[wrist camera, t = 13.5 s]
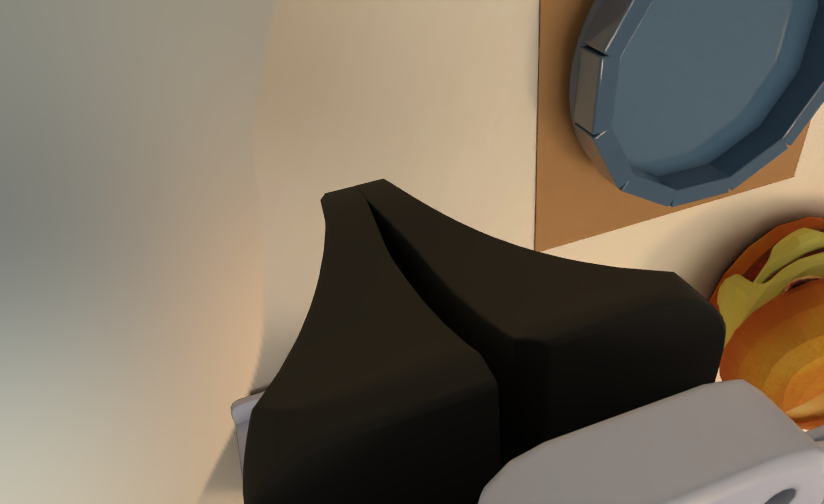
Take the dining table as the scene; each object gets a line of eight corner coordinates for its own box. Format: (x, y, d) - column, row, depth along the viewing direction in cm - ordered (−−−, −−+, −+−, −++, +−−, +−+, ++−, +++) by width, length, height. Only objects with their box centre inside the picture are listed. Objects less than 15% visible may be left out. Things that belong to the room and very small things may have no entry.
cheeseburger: (814, 332, 39) (934, 470, 31) (648, 340, 38) (727, 483, 30) (887, 192, 33) (1059, 316, 25) (693, 198, 32) (806, 328, 24)
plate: (550, 201, 26) (581, 231, 24) (571, -93, 20) (616, -84, 18) (764, 148, 29) (808, 172, 27) (844, -130, 22) (910, -125, 20)
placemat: (534, 252, 28) (535, 253, 28) (544, -183, 18) (545, -183, 18) (792, 176, 31) (793, 176, 31) (916, -235, 21) (918, -236, 21)
